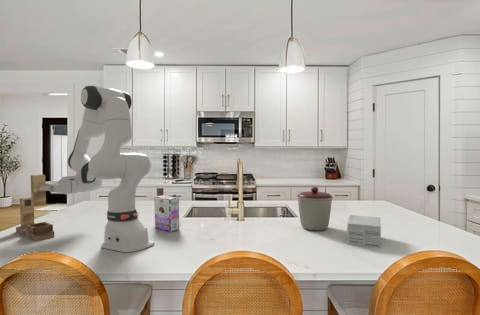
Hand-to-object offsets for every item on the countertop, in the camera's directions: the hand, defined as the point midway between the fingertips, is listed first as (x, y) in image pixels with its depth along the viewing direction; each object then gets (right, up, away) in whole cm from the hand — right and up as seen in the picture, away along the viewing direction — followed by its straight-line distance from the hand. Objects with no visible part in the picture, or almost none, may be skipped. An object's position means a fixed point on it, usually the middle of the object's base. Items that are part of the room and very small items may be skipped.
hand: (36, 188), depth 144 cm
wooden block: (+52, -21, +36) cm, 66 cm away
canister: (+132, -22, +14) cm, 135 cm away
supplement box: (+149, -23, -6) cm, 151 cm away
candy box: (+57, -22, +14) cm, 63 cm away
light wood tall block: (+1, -8, +1) cm, 8 cm away
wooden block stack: (-4, -23, +5) cm, 23 cm away
